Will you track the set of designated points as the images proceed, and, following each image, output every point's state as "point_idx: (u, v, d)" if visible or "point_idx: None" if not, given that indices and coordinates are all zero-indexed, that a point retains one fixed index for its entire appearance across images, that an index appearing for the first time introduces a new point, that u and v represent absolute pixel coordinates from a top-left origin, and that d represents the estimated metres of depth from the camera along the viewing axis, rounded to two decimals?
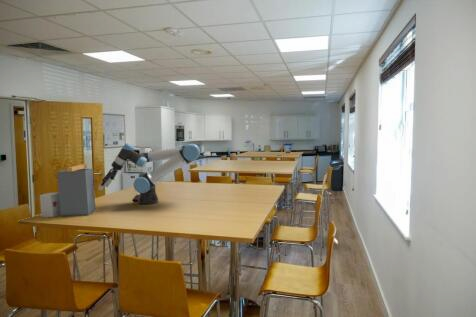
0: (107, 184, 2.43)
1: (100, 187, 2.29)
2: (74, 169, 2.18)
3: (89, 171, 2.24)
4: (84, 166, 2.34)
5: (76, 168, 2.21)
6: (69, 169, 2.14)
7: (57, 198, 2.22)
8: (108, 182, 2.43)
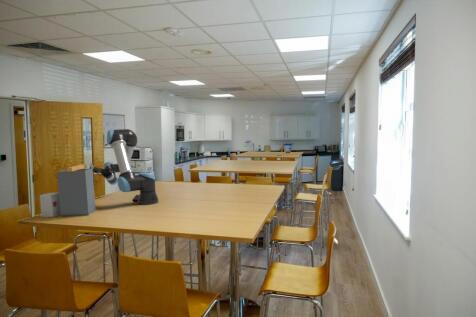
0: None
1: None
2: (74, 169, 2.18)
3: (89, 171, 2.24)
4: (84, 166, 2.34)
5: (76, 168, 2.21)
6: (69, 169, 2.14)
7: (57, 198, 2.22)
8: None
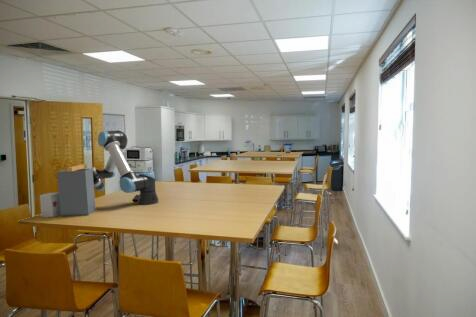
0: None
1: None
2: (74, 169, 2.18)
3: (89, 171, 2.24)
4: (84, 166, 2.34)
5: (76, 168, 2.21)
6: (69, 169, 2.14)
7: (57, 198, 2.22)
8: None
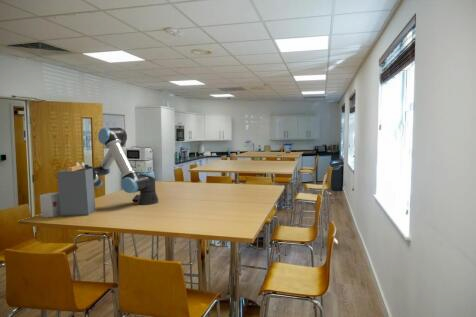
0: None
1: None
2: (74, 169, 2.18)
3: (89, 171, 2.24)
4: None
5: (76, 168, 2.21)
6: (69, 169, 2.14)
7: (57, 198, 2.22)
8: None
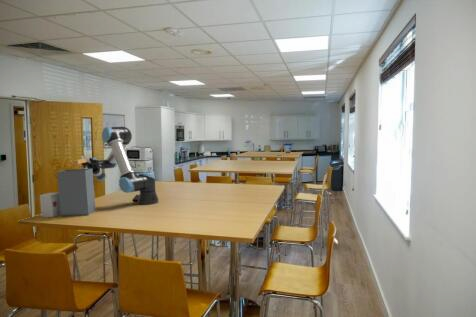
0: None
1: None
2: (80, 162, 2.27)
3: (89, 171, 2.24)
4: None
5: (81, 161, 2.30)
6: (75, 162, 2.23)
7: (57, 198, 2.22)
8: None
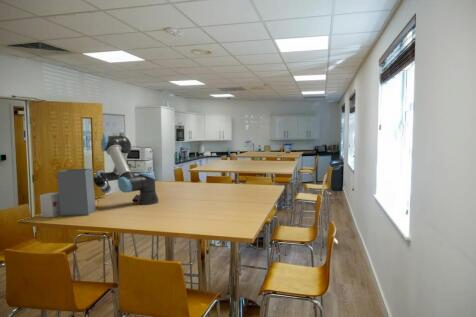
0: None
1: None
2: None
3: (89, 171, 2.24)
4: (97, 202, 2.56)
5: None
6: None
7: (57, 198, 2.22)
8: None
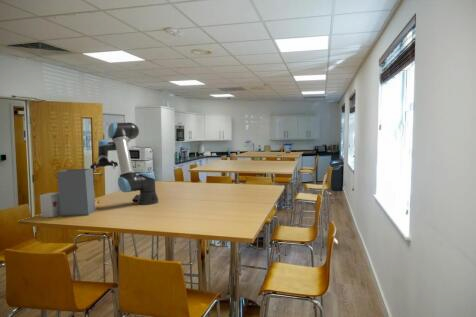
0: (113, 166, 2.59)
1: (94, 169, 2.53)
2: None
3: (89, 171, 2.24)
4: (97, 202, 2.56)
5: None
6: None
7: (57, 198, 2.22)
8: (113, 166, 2.60)
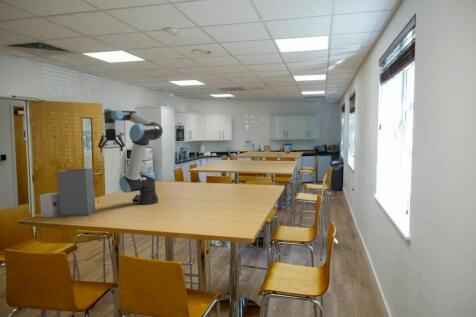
0: None
1: None
2: None
3: (89, 171, 2.24)
4: (97, 202, 2.56)
5: None
6: None
7: (57, 198, 2.22)
8: None
